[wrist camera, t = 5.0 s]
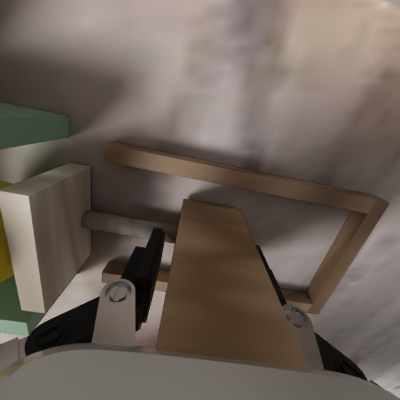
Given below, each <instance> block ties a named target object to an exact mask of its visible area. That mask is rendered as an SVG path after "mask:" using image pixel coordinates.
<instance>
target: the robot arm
mask: <svg viewBox="0 0 400 400" xmlns="http://www.w3.org/2000/svg"><path fill="white" fill-rule="evenodd" d="M165 234H166V232H165V231H163V229H162V228H156V227H154V228H153V231H152V233H151V236H150V238H149V241H148V243H147V246H146V248H144V247H138V246H136V247H135V249H134V251H133V253H132V255H131V257H130V259H129V261H128V263H127V266H126V268H125V270H124V272H123V274H122V276H121V278H120V279H116V280H113V281H110V282H108V283H107V284H106V285H105V286H104V287H103V288H102V290H101V293H100V296H99V297H97V298H95V299H93V300H91V301H89V302H86V303H84V304H82V305H80V306H78V307H76V308H74V309H72V310H69V311H67V312H65V313H63V314H61V315H59V316H57V317H55V318H52V319H50V320H48V321H46V322H44V323H43V324H41V325H39V326H38V327H37V328H35V329H34V330H33V331H32V332H31V334H30V335H29V336H27V337H25V338H23V339H20V340H19V339H18V337H17V338H15V339H12V340H10V341H8V342H5V343H3V344H0V400H400V398H398V397H397V396H395V395H393V394H392V393H390V392H389V391H387V390H385V389H383V388H382V387H380V386H379V385H378V384H376V383H375V382H373V381H372V380H370V381H369V382H368V381H367V378H366V377H365V375H364V374H363V372H362V371H361V370H360V368H359V367H358V366H357V365H356V364H355V363H353V362H352V361H351V360H350V359H349V358H347V357H346V356H345V355H343V354H342V353H341V352H339V351H338V350H337V349H336V348H334V347H333V346H332V345H330V344H329V343H328V342H327V341H325V340H324V339H323V338H321V337H320V336H319V335H318V334H316V333H315V332H314V329H313V326H312V322H311V320H310V318H309V317H308V315H307V314H306V313H305V312H304V311H303V310H301V309H300V308H299V307H297V306H295V305H291V304H287V303H286V300H285V298H284V296H283V294H282V292H281V290H280V287H279V285H278V283H277V281H276V279H275V277H274V275H273V272H272V271H271V269H270V268H269V266H268V264H267V262H266V259H265V257H264V255H263V253H262V251H261V249H260V247H259V246H258V245H256V248H257V250H258V252H259V255H260V257H261V259H262V261H263V264H264V266H265V268H266V271H267V273H268V275H269V278H270V280H271V282H272V285H273V287H274V289H275V292H276V294H277V296H278V299H279V301H280V303H281V305H282V308H283V310H284V312H285V315H286V317H287V319H288V322H289V324H290V326H291V329H292V331H293V333H294V336H295V338H296V340H297V342H298V345H299V347H300V349H301V352H302V354H303V356H304V359H305V361H306V363H307V366H308V368H309V369H308V368H300V367H292V366H285V365H277V364H269V363H261V362H253V361H245V360H237V359H229V358H221V357H212V356H204V355H196V354H188V353H179V352H170V351H162V350H157V349H155V348H146V347H136V346H135V332H136V331H138V329H139V330H140V328H141V324H142V322H144V323H146V321H147V317H148V313H149V309H150V305H151V301H152V297H153V293H154V289H155V285H156V281H157V277H158V274H159V269H160V264H161V258H162V252H163V246H164V240H165Z"/></svg>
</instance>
